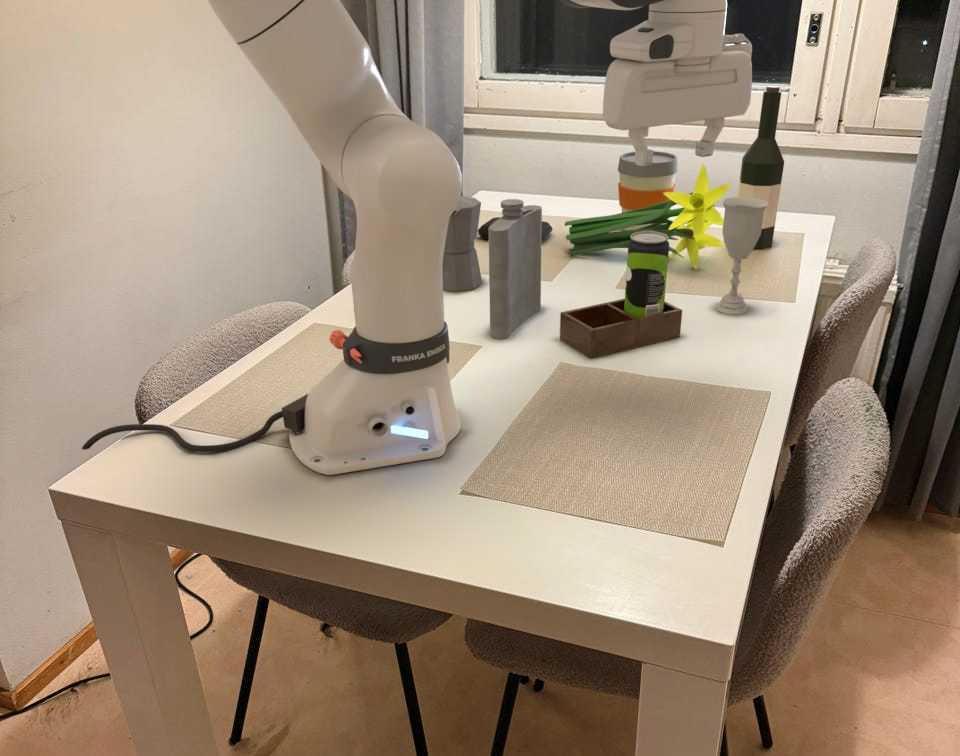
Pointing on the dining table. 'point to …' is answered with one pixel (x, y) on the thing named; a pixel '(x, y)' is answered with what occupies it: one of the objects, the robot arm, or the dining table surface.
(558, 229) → the dining table surface
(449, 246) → the coffeepot
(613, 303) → the divided box
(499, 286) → the hip flask
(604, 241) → the daffodil flowers
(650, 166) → the reusable coffee cup
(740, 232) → the chalice
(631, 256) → the beverage can
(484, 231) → the carrying case
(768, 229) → the wine bottle
